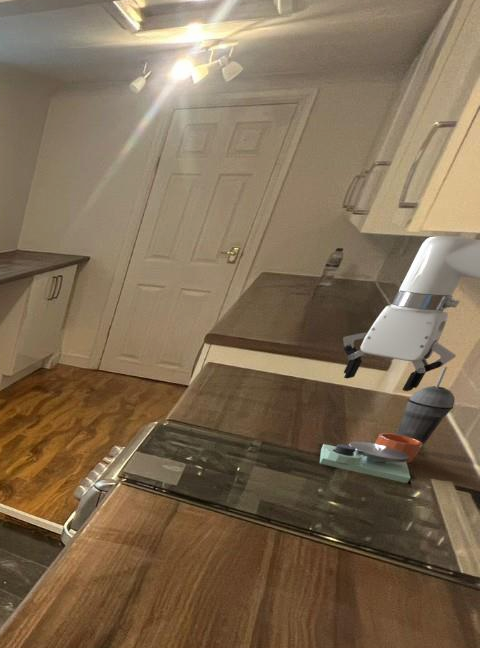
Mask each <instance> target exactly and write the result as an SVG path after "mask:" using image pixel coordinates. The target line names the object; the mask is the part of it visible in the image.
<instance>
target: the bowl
mask: <svg viewBox="0 0 480 648" xmlns="http://www.w3.org/2000/svg"><path fill="white" fill-rule="evenodd" d="M373 444H378V445H383V446H387V447H390V448H394V449H397V450H399V451H402V452H404V453H406V454H407V455H408V456H409V458H408V460H407V461H406V462H407V464H409V463H413V462H414V460H415V459H416V456H418V454H419V452H420V450H421V449H422V448H421V446H422V445H423V443H422V442H421V441H419V440H417V439H414V438H411V437H407V436H403V435H398V434H397V433H390V432H381V433H379V434H378V435H377V437H376V439H375V441H374V442H373ZM420 448H421V449H420Z"/></svg>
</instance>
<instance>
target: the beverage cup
mask: <svg viewBox="0 0 480 648" xmlns="http://www.w3.org/2000/svg"><path fill="white" fill-rule="evenodd" d="M447 369H448V366H443V369H442V371H441V372H440V375H439V377H438V380H437V382H436V384H435V385H433V386H431V385H430V386H426V387H422V388H420V389H419V390H417V391H415V392H414V393H412V395H411V396H410V397H409V398H408V399H407V403H406V406H405V407H406V408H405V412H404V415H403V417H402V419H401V421H400V424H399V427H398V429H397V431H396V434H398V435H403V436H407V437H411V438H414V439H417V440H419V441H421V442H422V443H423V445H422V446H421V448H420V450H421V449H422V448H423V447H424V446H425V444H426V443H427V442H428V440H429V439H430V437H431V436H432V434H433V433H434V432H435V430H436V429H437V428H438V426H439V425H440V423H441V422H442V421H443V420H444V418H445V417H446V416H447V415H448V414H449V413H450V412H451V410H453V409H454V405H455V396H454V394H453V393H452V391H451V390H449V389H447V388H446V387H443V386H440V385H441V382H442V380H443V378H444V376H445V374H446V372H447Z"/></svg>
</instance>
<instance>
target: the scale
mask: <svg viewBox="0 0 480 648" xmlns="http://www.w3.org/2000/svg"><path fill="white" fill-rule="evenodd" d="M336 447H337V446H334V445H330V444H325V443H323V444H322V446H321V449H320V456H319V464H320V465H324V466H328V467H334V468H338V469H341V470H347V471H351V472H356V473H360V474H364V475H369V476H373V477H377V478H382V479H387V480H392V481H396V482H400V483H404V484H409V482H410V480H411V474H410V470H409V467H408V463H407V462H389V461H386V463H385V464H380V463H373V462H370V461H366V460H364V459H362V455H360V454H357V453H355V452H354V453H353V455H352V456H347V455H342V454H339V453H336V452H334V451H335V449H336Z"/></svg>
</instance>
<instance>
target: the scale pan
mask: <svg viewBox="0 0 480 648" xmlns="http://www.w3.org/2000/svg"><path fill="white" fill-rule="evenodd" d="M348 445H349V446H352V447H354V448H356V449H355V451H354V452H355V453H357V454H360V455H362V459H364V460H366V461H370V462H373V463H380V464H385V463H386V461H389V462H406V461H407V460H408V458H409V456H408V455H407V454H406V453H404V452H402V451H399V450H397V449H394V448H390V447H387V446H383V445H378V444H374V442H373V443H372V442H364V441H352V442H350V443H348Z"/></svg>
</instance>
